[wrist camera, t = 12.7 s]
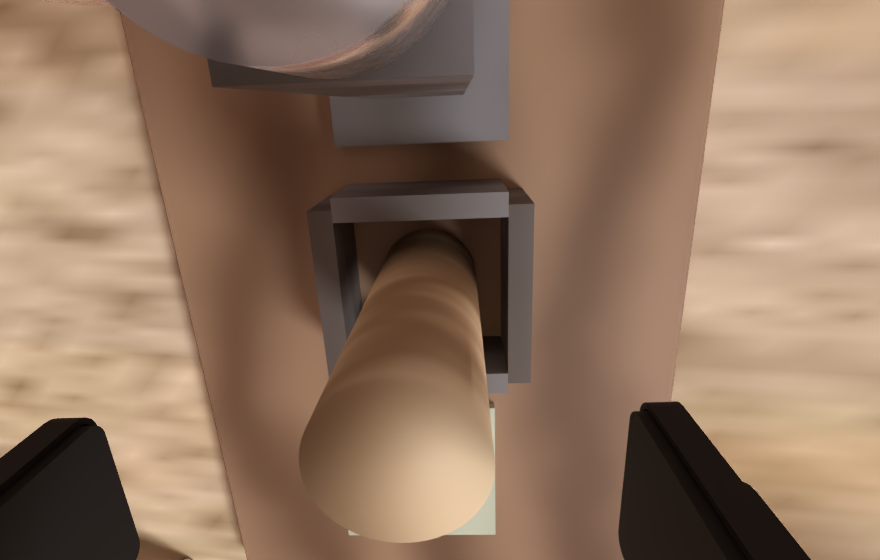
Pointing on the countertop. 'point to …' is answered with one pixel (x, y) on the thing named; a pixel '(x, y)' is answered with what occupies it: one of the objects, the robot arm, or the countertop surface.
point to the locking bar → (287, 31)
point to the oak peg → (407, 402)
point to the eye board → (464, 216)
